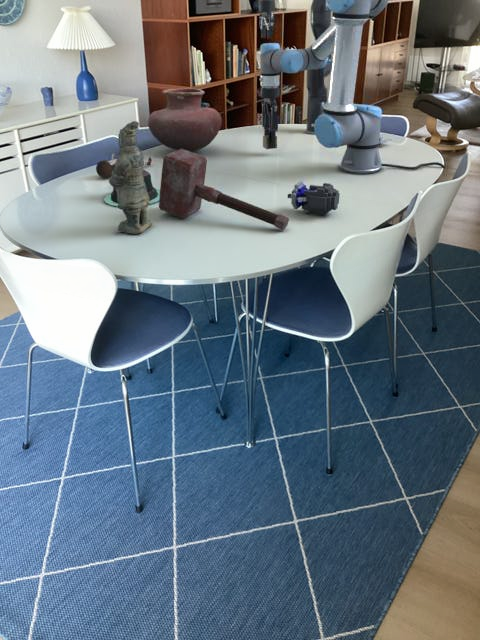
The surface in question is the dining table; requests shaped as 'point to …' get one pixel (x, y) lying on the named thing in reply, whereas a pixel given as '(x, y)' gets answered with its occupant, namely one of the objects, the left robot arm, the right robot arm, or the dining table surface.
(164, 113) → the clay pot
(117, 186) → the statue
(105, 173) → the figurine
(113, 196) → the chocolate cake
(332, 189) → the toy
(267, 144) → the block
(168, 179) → the sledgehammer
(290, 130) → the dining table surface
